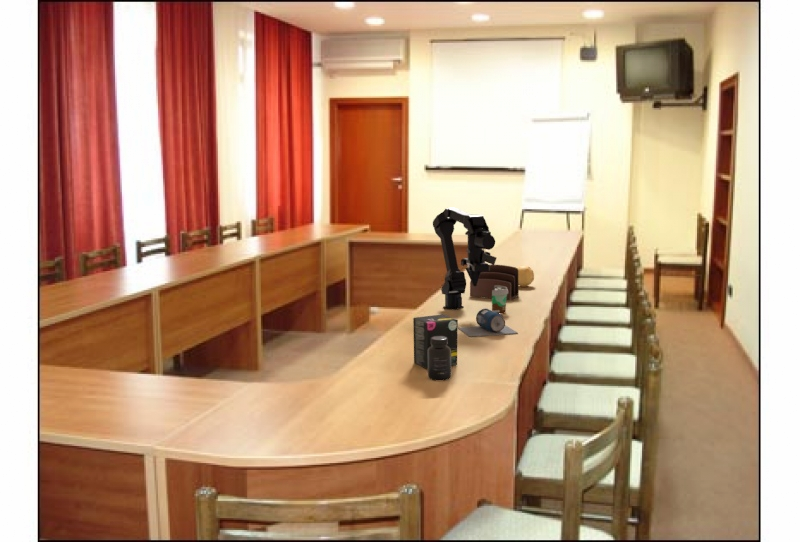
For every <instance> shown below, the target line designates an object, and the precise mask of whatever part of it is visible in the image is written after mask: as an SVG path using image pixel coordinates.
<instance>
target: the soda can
mask: <svg viewBox="0 0 800 542" xmlns="http://www.w3.org/2000/svg"><path fill="white" fill-rule="evenodd" d="M475 317H476V318H475V321H476V323H477V326H481V327H483V328H485V329H487V330H490V331H492V332H498V331H501V330H502V329H503V328H504V326H505V325H506V320H505V318H504V316H503V315H502V314H498V313H496V312H494V311H492V309H489V308H483V309H480V310H479V311H478V312H477V314H476V316H475Z"/></svg>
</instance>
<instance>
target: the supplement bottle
mask: <svg viewBox="0 0 800 542" xmlns="http://www.w3.org/2000/svg"><path fill="white" fill-rule="evenodd" d="M447 344H448V342H447V337H445V336H433V337H431V345H432V346H430V347H429V348H428V370H427V377H428V379H430V380H431V379H432V381H436V380H443V381H446V379H448V380H450V379H449V378H451V377H452V366H451V349H450V347H449V346H447Z"/></svg>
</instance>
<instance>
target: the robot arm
mask: <svg viewBox="0 0 800 542" xmlns="http://www.w3.org/2000/svg"><path fill="white" fill-rule="evenodd" d="M456 223H461V224H462V225H463V228H465V229H466V230H467V231H465V233H464V234H465V235H466V236H467V248H466V249H465V251H466V253H467V257H463V258H462V259H461V260H460V265H461V266H462V267H464V266H466V267H465V268H464V269H465V270H466V272H467V275H468V277H469V278H470V281H471V282H472V284H473V286H477V282H478V279H479V276H480V273H481V272H482V271H490V266H489V265H496V261H497V257H496V256H493V255H491V252H489V250H492V249H493V248H494V247H495V244H496V239H495V237H494V236H493V235H492V234H491V231H490V228H489V226H488V223H487V221H486V219H485V218H484V215H483V214H470V213H468V212H465V211H463V210H461V209H459V208H457V207H447V208H444V210H443V211H442V212H440V213H439V214H438V215H436V216H435V218H434V219H433V221H432V228H433V229H434V232H435V234H436V235H437V237H438V238H439V239H440V243H441V247H442V253H443V258H444V262H445V268H446V269H445V270H446V273H445V277H444V283H443V284H442V286H441V288H440V291H441V294H442V295H444V298H445V299H444V302H445V303H444V306H442V309H449V310H452V311H453V310H455V311H456V310H458V309H463V308H464V306H463V297H462V294H465V293H466V288H467V279H466V276H465V272H464V271H461V270H460V269H459V264H458V260H457V253H456V250H455V244H454V240H453V233H454V231H455V225H456ZM485 250H488V251H485Z"/></svg>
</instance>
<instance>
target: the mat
mask: <svg viewBox="0 0 800 542" xmlns="http://www.w3.org/2000/svg"><path fill="white" fill-rule="evenodd" d="M458 330H460V331H461V332H462V333H464V335H466V336H468V337H469V338H475V337H476V336H480V337H489V336H488V335H494V336H505V335H504V334H508V335H518V333H519V332H518V331H516V330H514V329H513V328H510V327H509V326H507V325H506V324H505V326H504V328H503V329H502V330H501V331H498V332H492V331H490V330H487V329H485V328H483V327H481V326H479V325H476V326H475V325H474V326H460V327H458ZM476 338H477V337H476Z"/></svg>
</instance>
